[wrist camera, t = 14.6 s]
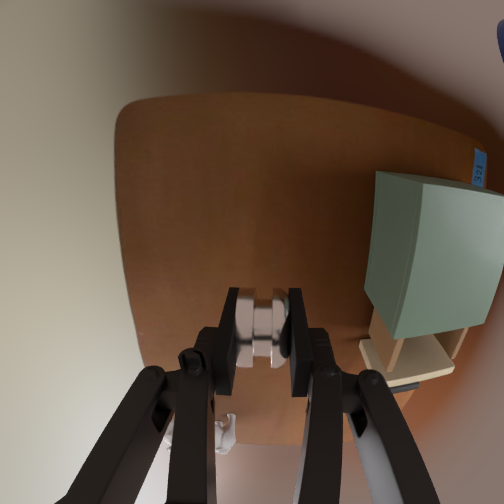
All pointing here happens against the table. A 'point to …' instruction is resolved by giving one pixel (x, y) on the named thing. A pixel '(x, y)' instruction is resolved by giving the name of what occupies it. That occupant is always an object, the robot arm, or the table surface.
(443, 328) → the cabinet
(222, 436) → the dog figurine
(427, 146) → the table surface
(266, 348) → the metal grooved wheel
